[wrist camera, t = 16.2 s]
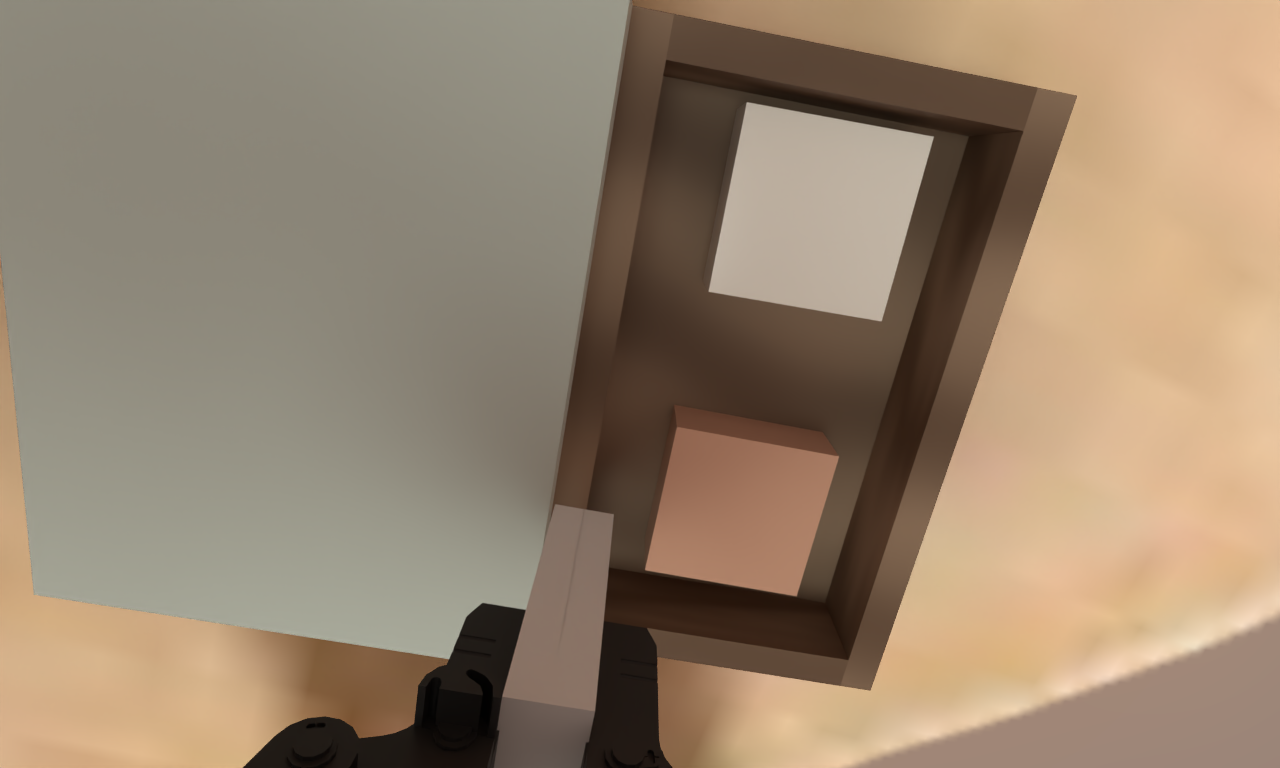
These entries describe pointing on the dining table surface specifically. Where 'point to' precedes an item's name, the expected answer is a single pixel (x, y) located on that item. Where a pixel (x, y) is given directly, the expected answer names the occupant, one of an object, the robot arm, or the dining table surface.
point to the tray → (791, 331)
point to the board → (299, 299)
